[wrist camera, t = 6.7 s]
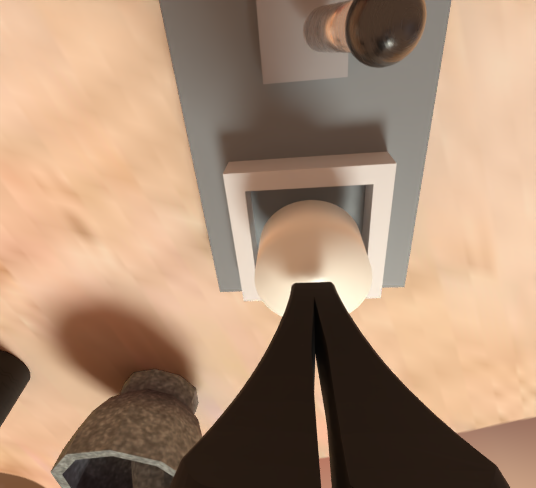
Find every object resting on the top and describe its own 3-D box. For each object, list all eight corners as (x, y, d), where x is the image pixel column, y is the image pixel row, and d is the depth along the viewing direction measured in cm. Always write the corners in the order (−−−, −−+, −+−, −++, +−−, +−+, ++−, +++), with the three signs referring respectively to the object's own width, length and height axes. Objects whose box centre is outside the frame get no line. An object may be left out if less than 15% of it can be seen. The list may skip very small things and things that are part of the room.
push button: (364, 197, 13) (377, 228, 11) (358, 283, 16) (367, 322, 14) (254, 202, 14) (247, 233, 12) (264, 286, 16) (260, 324, 14)
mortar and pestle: (78, 379, 28) (-45, 581, 18) (159, 337, 24) (64, 556, 14) (173, 443, 32) (119, 632, 22) (252, 415, 29) (230, 623, 19)
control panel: (525, -679, 7) (695, -1195, 4) (395, 264, 20) (412, 306, 17) (71, -548, 8) (-60, -887, 5) (226, 270, 21) (214, 310, 18)
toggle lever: (339, -7, 11) (452, -34, 7) (337, 59, 11) (437, 64, 8) (286, -3, 10) (379, -30, 6) (289, 65, 11) (372, 74, 7)
